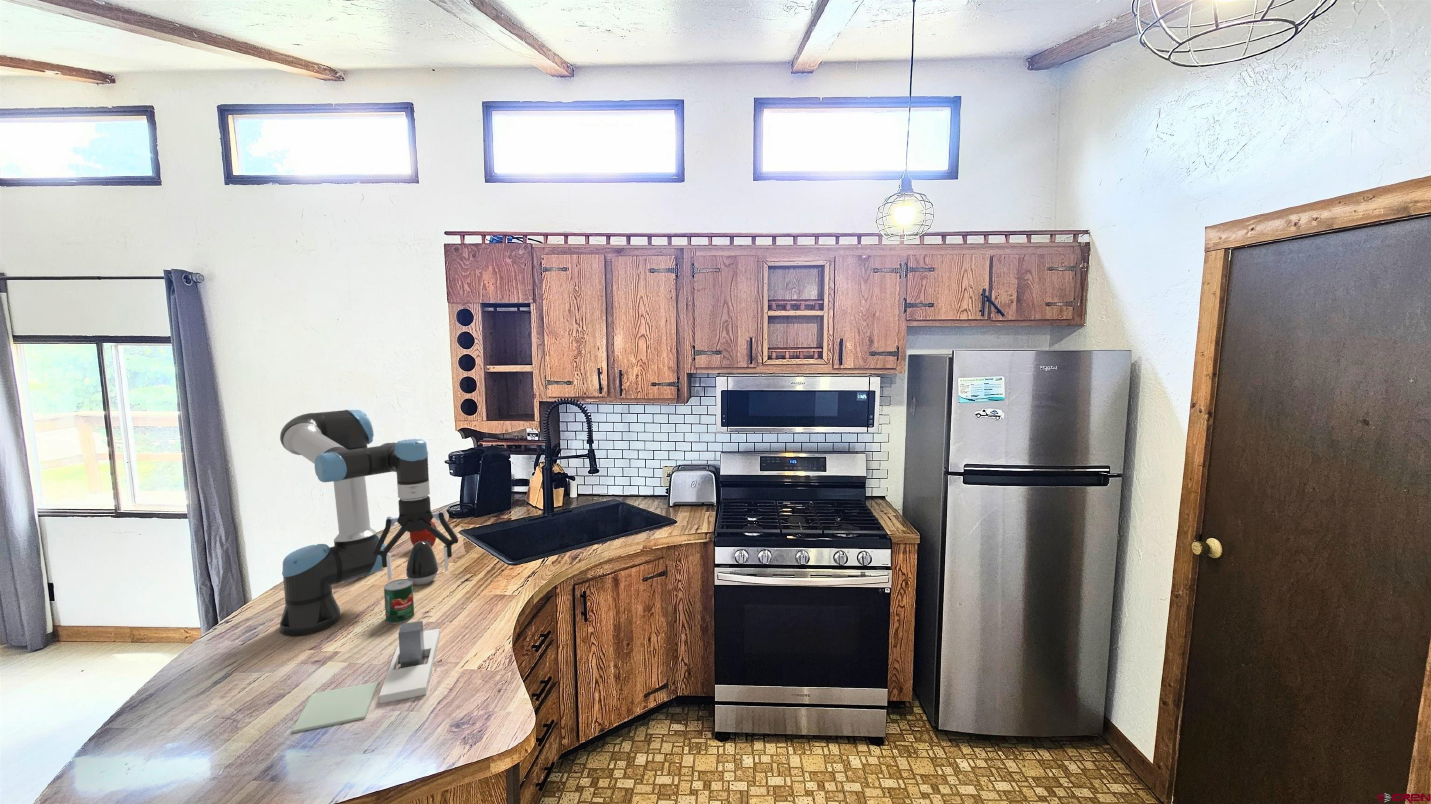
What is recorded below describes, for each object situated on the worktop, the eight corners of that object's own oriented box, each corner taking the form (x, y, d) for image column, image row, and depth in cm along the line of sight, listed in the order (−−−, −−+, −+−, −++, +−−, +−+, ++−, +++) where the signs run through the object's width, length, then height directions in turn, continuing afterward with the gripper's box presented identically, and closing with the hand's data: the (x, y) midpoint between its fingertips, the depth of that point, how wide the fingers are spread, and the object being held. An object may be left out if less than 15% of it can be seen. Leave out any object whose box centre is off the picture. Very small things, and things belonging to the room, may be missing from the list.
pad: (292, 733, 123) (291, 730, 123) (312, 695, 136) (312, 693, 136) (365, 718, 128) (364, 716, 128) (378, 683, 141) (378, 681, 141)
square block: (400, 672, 146) (398, 633, 145) (404, 662, 151) (401, 623, 150) (422, 669, 148) (419, 629, 147) (424, 659, 152) (422, 620, 151)
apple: (411, 547, 236) (409, 515, 234) (438, 544, 240) (436, 512, 238) (409, 556, 226) (408, 522, 225) (437, 552, 230) (435, 519, 229)
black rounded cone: (444, 576, 206) (442, 536, 205) (427, 588, 196) (425, 547, 194) (418, 575, 207) (416, 535, 206) (400, 587, 197) (398, 546, 195)
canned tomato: (401, 625, 171) (399, 590, 170) (379, 622, 172) (377, 588, 171) (420, 613, 179) (418, 580, 177) (398, 610, 180) (397, 577, 179)
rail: (379, 703, 134) (379, 695, 133) (401, 641, 162) (401, 634, 161) (426, 694, 137) (425, 686, 137) (440, 635, 165) (439, 628, 165)
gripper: (357, 506, 141) (363, 587, 143) (465, 494, 152) (469, 569, 154) (361, 499, 148) (366, 576, 150) (464, 488, 159) (468, 560, 161)
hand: (418, 573), depth 152 cm, fingers open, 13 cm apart
